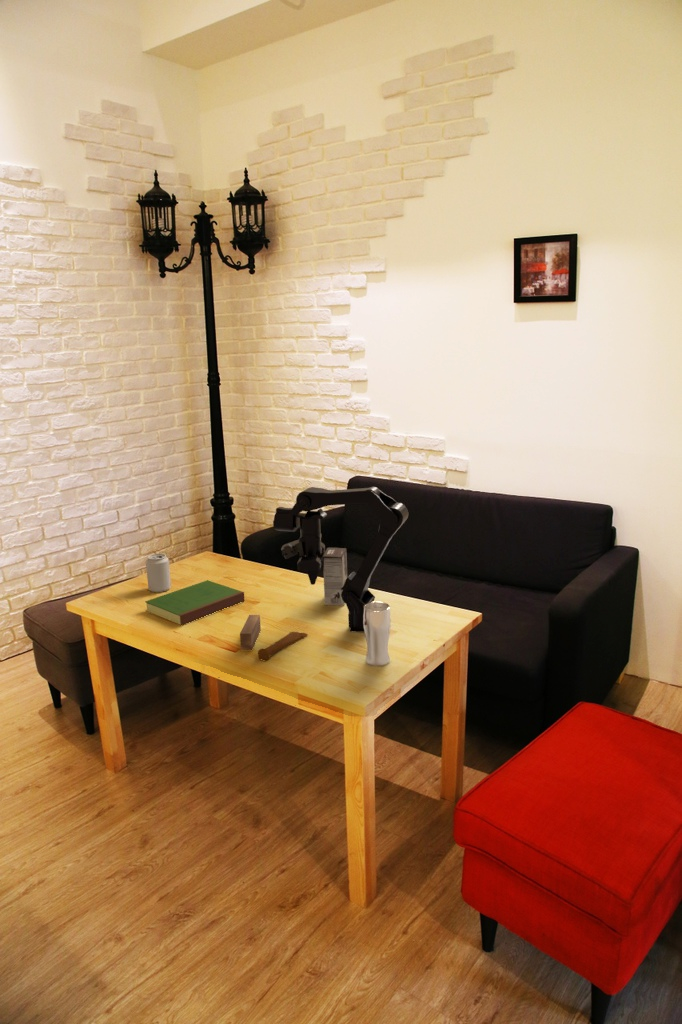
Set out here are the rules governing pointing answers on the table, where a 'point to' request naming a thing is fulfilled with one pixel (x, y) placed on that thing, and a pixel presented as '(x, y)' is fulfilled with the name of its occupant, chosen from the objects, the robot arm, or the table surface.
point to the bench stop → (250, 632)
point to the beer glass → (377, 632)
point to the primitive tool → (280, 645)
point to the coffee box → (334, 575)
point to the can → (158, 572)
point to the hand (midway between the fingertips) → (312, 584)
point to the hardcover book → (194, 602)
